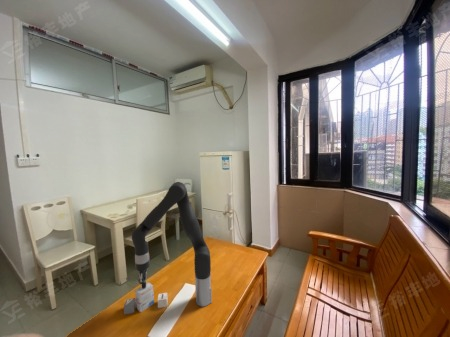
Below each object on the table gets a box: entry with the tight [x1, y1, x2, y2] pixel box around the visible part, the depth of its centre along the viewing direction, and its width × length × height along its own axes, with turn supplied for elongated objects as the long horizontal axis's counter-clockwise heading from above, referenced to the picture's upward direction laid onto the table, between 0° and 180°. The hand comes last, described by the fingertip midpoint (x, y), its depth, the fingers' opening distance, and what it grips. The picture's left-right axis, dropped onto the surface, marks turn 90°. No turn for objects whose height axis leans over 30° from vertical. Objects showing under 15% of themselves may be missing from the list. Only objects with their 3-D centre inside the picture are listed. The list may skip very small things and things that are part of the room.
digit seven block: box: [123, 297, 137, 315], centre depth 108 cm, size 5×5×5 cm
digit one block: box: [157, 292, 169, 309], centre depth 112 cm, size 5×5×5 cm
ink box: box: [134, 282, 155, 313], centre depth 111 cm, size 9×5×12 cm, turn 141°
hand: (144, 287), depth 110 cm, fingers closed
